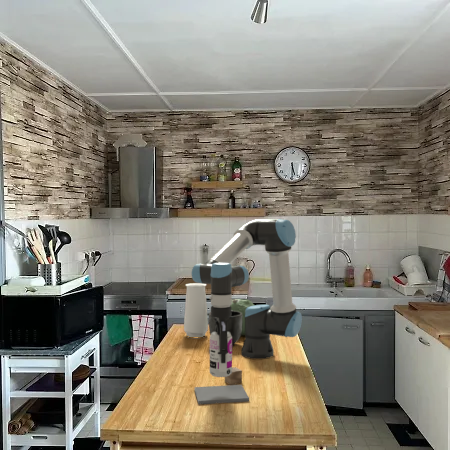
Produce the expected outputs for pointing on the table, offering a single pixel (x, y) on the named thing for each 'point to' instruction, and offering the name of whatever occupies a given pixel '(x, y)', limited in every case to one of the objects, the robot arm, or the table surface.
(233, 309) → the cabbage
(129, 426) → the table surface
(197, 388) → the slate board
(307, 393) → the table surface
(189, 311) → the vase
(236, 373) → the walnut block
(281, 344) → the table surface
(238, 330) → the planter
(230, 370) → the supplement can
